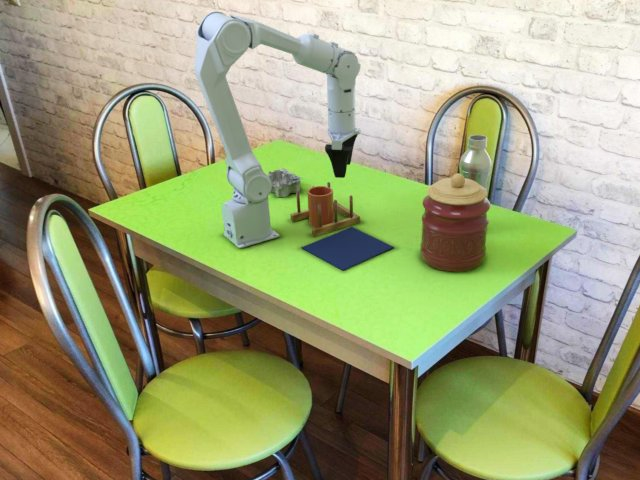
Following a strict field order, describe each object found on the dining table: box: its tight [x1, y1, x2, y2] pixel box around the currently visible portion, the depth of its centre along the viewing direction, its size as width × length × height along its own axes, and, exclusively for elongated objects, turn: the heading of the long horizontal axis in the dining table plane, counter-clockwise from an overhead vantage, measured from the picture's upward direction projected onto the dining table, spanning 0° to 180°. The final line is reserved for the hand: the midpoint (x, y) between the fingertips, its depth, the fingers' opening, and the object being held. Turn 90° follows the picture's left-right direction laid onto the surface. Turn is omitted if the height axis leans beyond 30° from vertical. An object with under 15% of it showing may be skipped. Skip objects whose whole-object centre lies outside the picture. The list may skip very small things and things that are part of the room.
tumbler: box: [306, 185, 335, 228], centre depth 152 cm, size 6×6×8 cm
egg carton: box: [267, 168, 303, 198], centre depth 169 cm, size 11×8×4 cm
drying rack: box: [289, 181, 361, 238], centre depth 153 cm, size 12×10×7 cm
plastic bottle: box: [458, 134, 493, 191], centre depth 146 cm, size 6×7×20 cm
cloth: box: [301, 226, 395, 272], centre depth 144 cm, size 14×13×1 cm
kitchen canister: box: [420, 173, 491, 272], centre depth 135 cm, size 13×13×18 cm
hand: (342, 170), depth 153 cm, fingers open, 7 cm apart
